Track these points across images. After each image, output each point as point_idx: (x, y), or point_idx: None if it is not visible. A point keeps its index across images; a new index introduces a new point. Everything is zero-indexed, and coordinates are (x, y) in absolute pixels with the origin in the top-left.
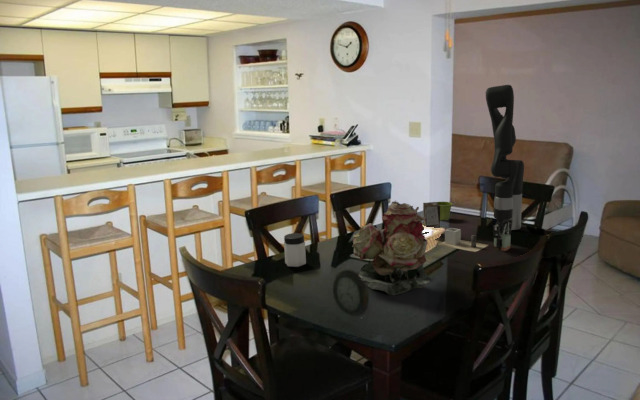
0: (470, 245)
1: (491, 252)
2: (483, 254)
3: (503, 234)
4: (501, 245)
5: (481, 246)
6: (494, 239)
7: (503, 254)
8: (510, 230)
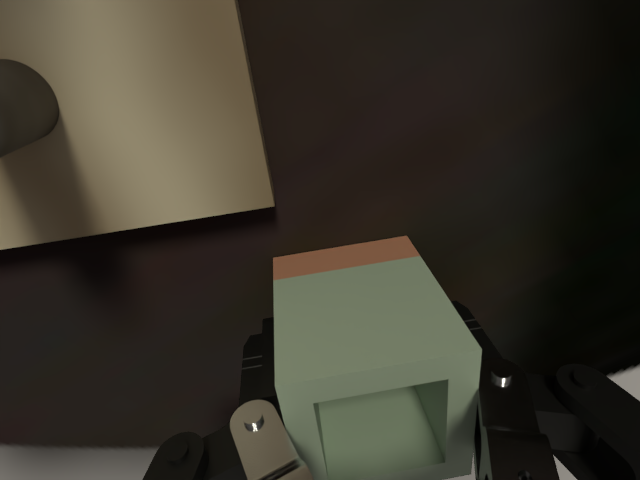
0: (15, 8)
1: (155, 305)
2: (20, 294)
3: (445, 411)
4: None
5: (139, 176)
6: (274, 343)
7: (201, 396)
8: (589, 466)
